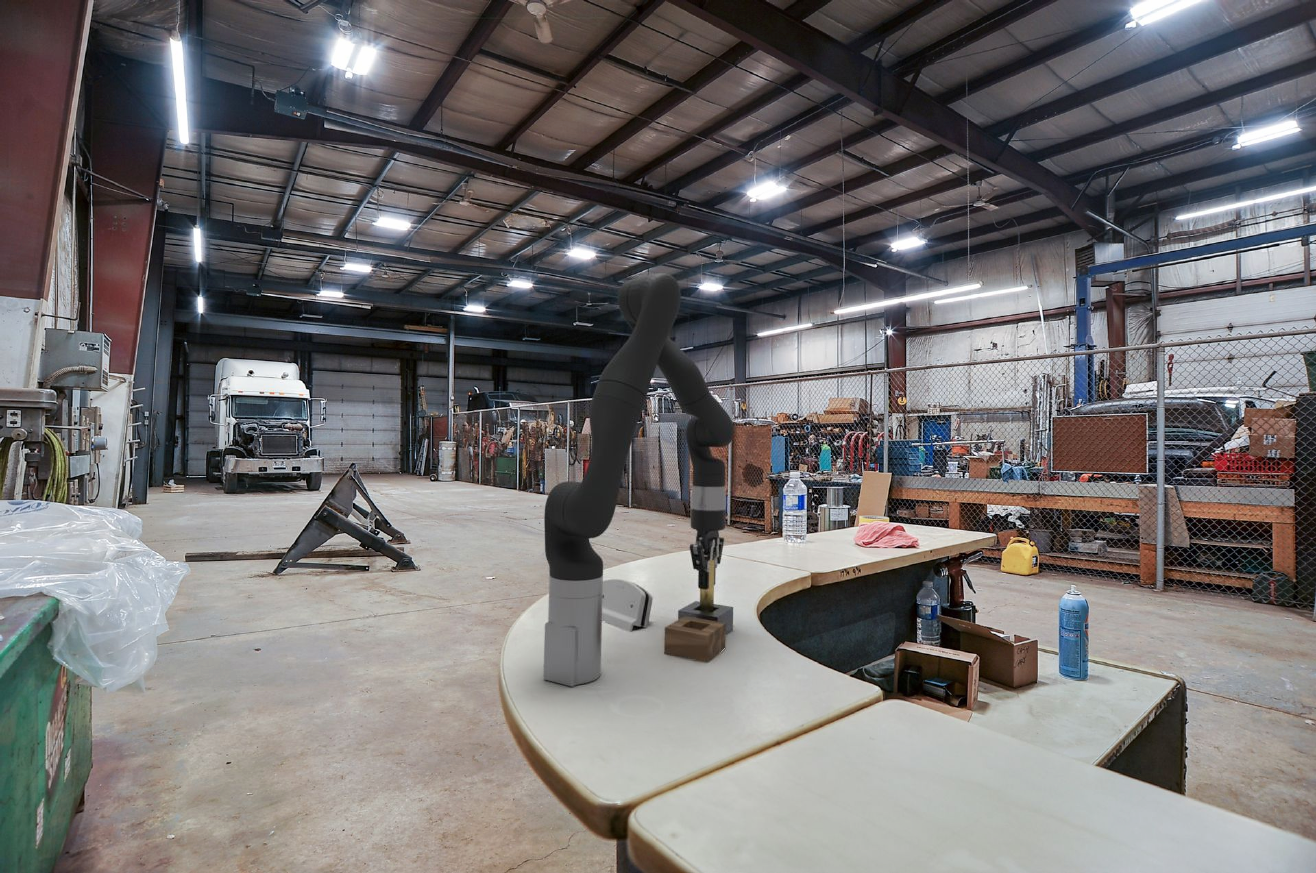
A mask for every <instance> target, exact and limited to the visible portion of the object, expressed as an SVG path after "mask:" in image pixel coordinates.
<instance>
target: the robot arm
mask: <svg viewBox="0 0 1316 873" xmlns="http://www.w3.org/2000/svg"><path fill="white" fill-rule="evenodd" d="M681 302H682V293H681V288H680V285H679V282H678V280H677V279H676V278H675V277H674V276H673V275H671V274H670V273H665V272H657V273H652V274H648V275H644V276H643V275H642V276H640V277H635V278H632V279H630V280H627V281H625V282H624V283H622V285H621V287H620V288H619V290H618V295H617V303H618V308H619V310H620V313H621V314H622V317H623V318H624V320H625V322H626V323H627V324H628V326H629V328H630V329H631V330H632V333H631V335H630V336H629V338H628V340H627V341H626V342H625V343H624V344H623V346H622V347H621V348H620V349H619V350H618V351H617V353H616V354H615V355H614V356H613V357H612V358H611V360H609V362H608V364H607V365H606V367H604V369H603V370H602V372H601V374H600V376H599V378H598V380H597V384H596V387H595V390H594V392H593V395H592V398H591V401H590V405H589V414H588V417H589V427H590V436H591V452H590V453H591V454H590V459H589V461H588V464H587V468H586V471H585V473H584V475H583V478H582V479H581V481H563V482H559V483H557V484H556V485H554V487H553V488H552V489H551V490H550V492H549V493H548V496H547V498H546V502H545V506H544V517H543V518H544V519H543V520H544V523H543V525H544V554H545V557H546V562H547V564H548V566H549V568H548V570H549V571H548V572H549V582H548V616H547V618H548V619H547V622H546V623H545V624H544V641H543V643H544V646H543V647H544V648H543V649H544V650H543V680H545V681H550V682H554V683H556V684H561V685H565V686H568V687H575V686H577V685H582V684H586V683H590V682H594V681H596V680H597V679H598V678H599V677H601V674H602V673H601V669H602V632H603V631H602V627H603V626H602V623H603V621H602V593H603V581H604V561H603V558H602V557H601V556H600V555H599V554H598V553H597V552H596V550H594V548H593V546H592V544H591V542H590V539H595V538H598V537H599V536H602V534H604V533H605V532H606V531H607V530H608V528H609V526H610V525H611V523H612V521H613V517H614V515H615V511H616V507H617V503H618V498H619V493H620V490H621V484H622V480H623V479H622V478H623V475H624V470H625V465H626V462H627V459H628V455H629V452H630V448H631V446H632V442H633V439H634V435H635V431H636V429H637V425H638V424H639V423H638V422H639V421H640V418H641V415H642V412H643V409H644V405H645V402H646V400H647V396H648V392H649V389H650V385H651V382H652V379H653V377H654V373H655V370H656V368H657V367H658V369H659V370H660V371H661V373H662V375H663V377H664V378H665V380H666V382H667V384H668V385H669V387H670V388H669V389H670V390H671V392H672V394H673V395H674V396H673V397H675V399H676V402H677V404H678V406H679V408H680V409H681V411H682V412H683V413H684V414H687V415H689V416H691V418H689V420H688V422H687V425H686V428H685V440H686V443H687V444H686V445H687V447H688V451H689V453H688V454H689V457H690V461H691V463H692V464H691V465H692V488H691V496H690V527H691V529H692V530H696V536H695V543H691V544H689V551H690V557H691V562H692V568H693V570H696V571H697V572H698V575H697V576H698V578H697V581H698V582H697V587H698V589H699V590H700V589H705V590H706V589H708V588H709V567H710V561H711V560H712V559H714V560H715V561H714V586H715V585H716V573H717V572H716V570H717V569H718V565H720V564H721V560H722V554H723V549H724V543H725V538H724V537H721V536H720V531H724V530H725V529H726V525H727V524H726V521H727V520H726V518H727V517H726V515H727V510H726V508H727V493H726V463H725V462H724V460H722V459H720V458H717V457H715V456H714V455H713V453H712V451H711V448H723V447H727V446H728V445H730V444H731V443H732V441H733V439H734V436H735V435H734V434H735V428H734V427H735V426H734V423H733V420H732V418H731V417H730V415H729V414H728V412H727V411H726V410H725V409H724V407H723V406H722V405H721V404H720V402H718V400H717V399H716V398H715V397H714V396H713V395H712V393H711V392H710V389H709V386H708V385H707V383H706V381H705V379H704V376H703V374H702V372H701V370H700V368H699V367H698V365H697V364H696V363H695V362H694V361H693V359H692V358H691V357H689V356H688V355H687V354H686V353H685V352H684V351H683V350H682V349H681V348H680V347H679V346H678V345H677V344H676V343H675V342H674V341H673V340H672V339H671V338H670V335H669V334H670V332H671V330H672V328H673V326H674V323H675V321H676V319H677V317H678V314H679V310H680V308H681ZM705 561H706V563H705Z"/></svg>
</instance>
